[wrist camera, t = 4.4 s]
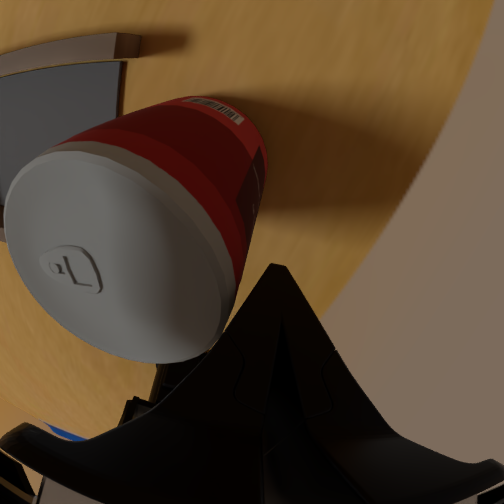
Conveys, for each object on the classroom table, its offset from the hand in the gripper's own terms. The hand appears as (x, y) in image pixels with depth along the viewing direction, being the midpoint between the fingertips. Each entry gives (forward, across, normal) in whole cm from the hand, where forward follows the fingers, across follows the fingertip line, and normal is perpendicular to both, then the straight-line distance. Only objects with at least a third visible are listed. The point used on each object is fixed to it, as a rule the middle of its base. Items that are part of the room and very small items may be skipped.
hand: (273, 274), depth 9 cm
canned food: (+9, +4, 0) cm, 10 cm away
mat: (+9, +17, +1) cm, 19 cm away
